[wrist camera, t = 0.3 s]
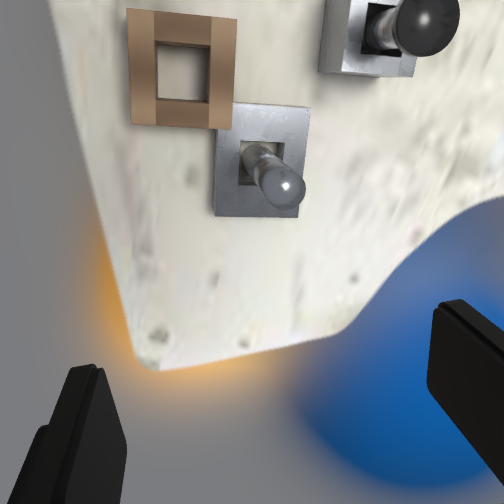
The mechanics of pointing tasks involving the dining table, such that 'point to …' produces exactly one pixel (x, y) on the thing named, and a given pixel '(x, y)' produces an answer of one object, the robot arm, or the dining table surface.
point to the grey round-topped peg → (274, 177)
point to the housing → (358, 42)
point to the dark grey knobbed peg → (412, 27)
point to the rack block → (187, 35)
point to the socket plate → (257, 129)
